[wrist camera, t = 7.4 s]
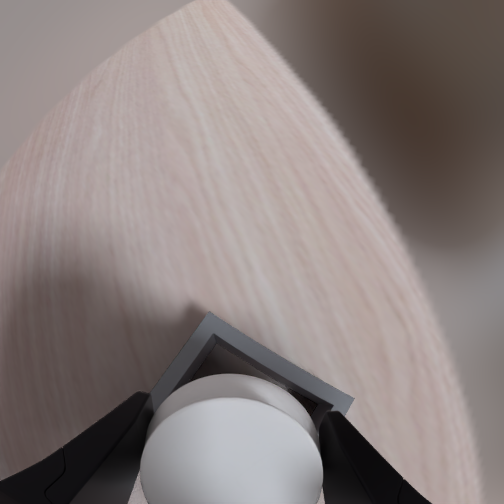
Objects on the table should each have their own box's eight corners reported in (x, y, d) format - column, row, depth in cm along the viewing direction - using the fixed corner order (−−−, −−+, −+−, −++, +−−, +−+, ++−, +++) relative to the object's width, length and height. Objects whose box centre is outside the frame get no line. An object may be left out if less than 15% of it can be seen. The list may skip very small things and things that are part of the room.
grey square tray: (257, 513, 13) (261, 532, 10) (132, 436, 14) (114, 442, 12) (336, 398, 16) (354, 398, 13) (213, 324, 18) (209, 311, 15)
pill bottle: (243, 495, 12) (255, 598, 3) (160, 436, 13) (68, 476, 5) (306, 420, 14) (397, 442, 5) (223, 362, 15) (207, 314, 7)
